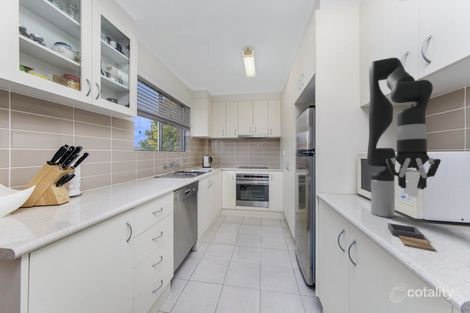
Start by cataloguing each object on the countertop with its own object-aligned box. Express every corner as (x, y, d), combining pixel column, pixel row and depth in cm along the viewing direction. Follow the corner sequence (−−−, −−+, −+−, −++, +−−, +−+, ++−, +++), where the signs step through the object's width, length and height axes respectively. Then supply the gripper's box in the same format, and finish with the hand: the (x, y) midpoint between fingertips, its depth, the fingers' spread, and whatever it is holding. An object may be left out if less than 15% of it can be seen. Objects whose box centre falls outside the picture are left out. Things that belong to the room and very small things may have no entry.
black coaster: (388, 227, 74) (388, 223, 74) (415, 232, 70) (415, 227, 70) (392, 235, 67) (392, 229, 67) (423, 240, 63) (423, 234, 63)
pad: (398, 237, 65) (398, 235, 65) (426, 241, 62) (426, 240, 62) (404, 245, 59) (404, 243, 59) (434, 251, 56) (434, 249, 56)
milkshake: (426, 198, 60) (428, 168, 60) (407, 196, 61) (409, 166, 61) (416, 195, 64) (417, 167, 64) (398, 194, 66) (400, 166, 65)
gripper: (435, 139, 63) (436, 189, 62) (382, 141, 70) (383, 185, 70) (446, 136, 56) (447, 192, 56) (386, 138, 64) (387, 188, 63)
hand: (411, 188), depth 63 cm, fingers closed on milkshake, 4 cm apart
